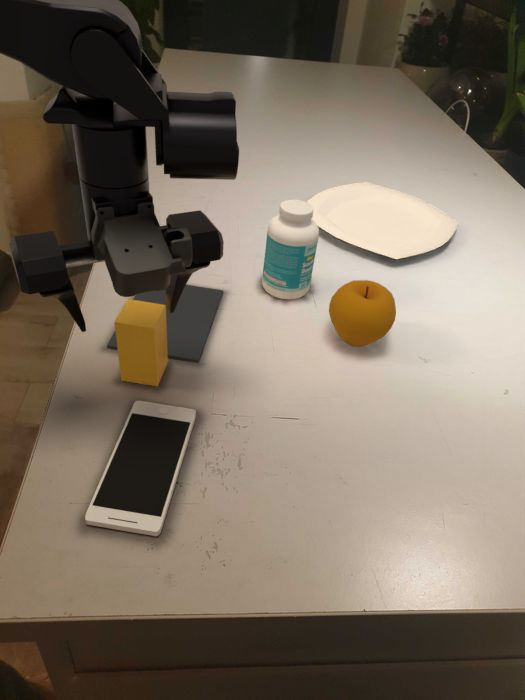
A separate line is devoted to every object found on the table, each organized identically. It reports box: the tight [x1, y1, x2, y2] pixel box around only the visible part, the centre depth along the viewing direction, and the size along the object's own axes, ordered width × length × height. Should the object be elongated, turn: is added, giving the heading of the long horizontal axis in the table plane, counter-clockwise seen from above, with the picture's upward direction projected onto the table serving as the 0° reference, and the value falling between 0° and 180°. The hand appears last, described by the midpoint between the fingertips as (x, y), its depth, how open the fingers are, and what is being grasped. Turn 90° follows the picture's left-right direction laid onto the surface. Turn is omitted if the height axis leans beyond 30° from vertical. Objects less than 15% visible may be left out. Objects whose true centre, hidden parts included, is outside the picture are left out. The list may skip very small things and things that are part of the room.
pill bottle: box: [261, 199, 320, 300], centre depth 77 cm, size 8×7×14 cm
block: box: [114, 298, 169, 387], centre depth 62 cm, size 4×4×9 cm
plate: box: [306, 181, 459, 261], centre depth 100 cm, size 27×27×2 cm
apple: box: [328, 279, 397, 348], centre depth 71 cm, size 9×9×9 cm
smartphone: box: [84, 400, 197, 537], centre depth 54 cm, size 7×16×1 cm, turn 173°
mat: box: [106, 284, 224, 364], centre depth 73 cm, size 12×16×1 cm
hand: (128, 319), depth 55 cm, fingers open, 9 cm apart
